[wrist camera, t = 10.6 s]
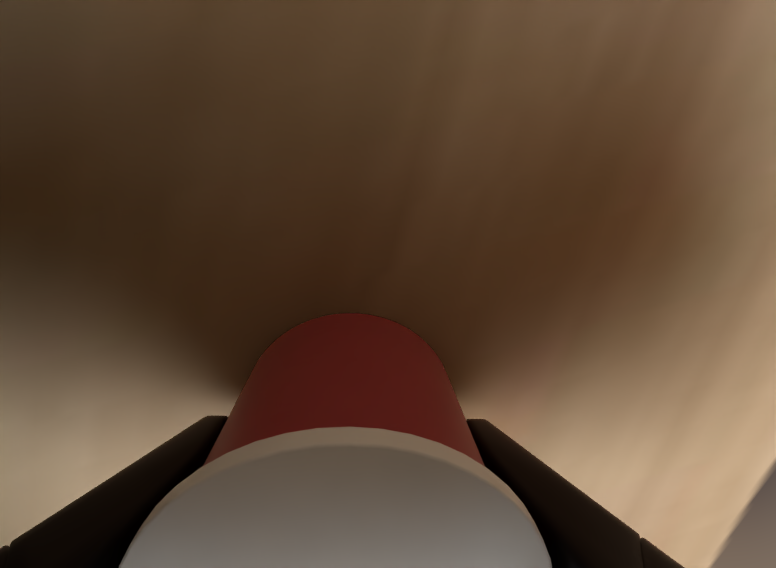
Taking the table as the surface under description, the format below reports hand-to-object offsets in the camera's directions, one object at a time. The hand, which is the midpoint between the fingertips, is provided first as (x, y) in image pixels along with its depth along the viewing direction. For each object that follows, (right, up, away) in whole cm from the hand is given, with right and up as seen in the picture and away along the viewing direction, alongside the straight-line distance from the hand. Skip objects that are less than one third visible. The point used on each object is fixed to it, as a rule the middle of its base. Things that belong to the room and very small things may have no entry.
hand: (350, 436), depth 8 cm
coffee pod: (0, 0, +1) cm, 1 cm away
